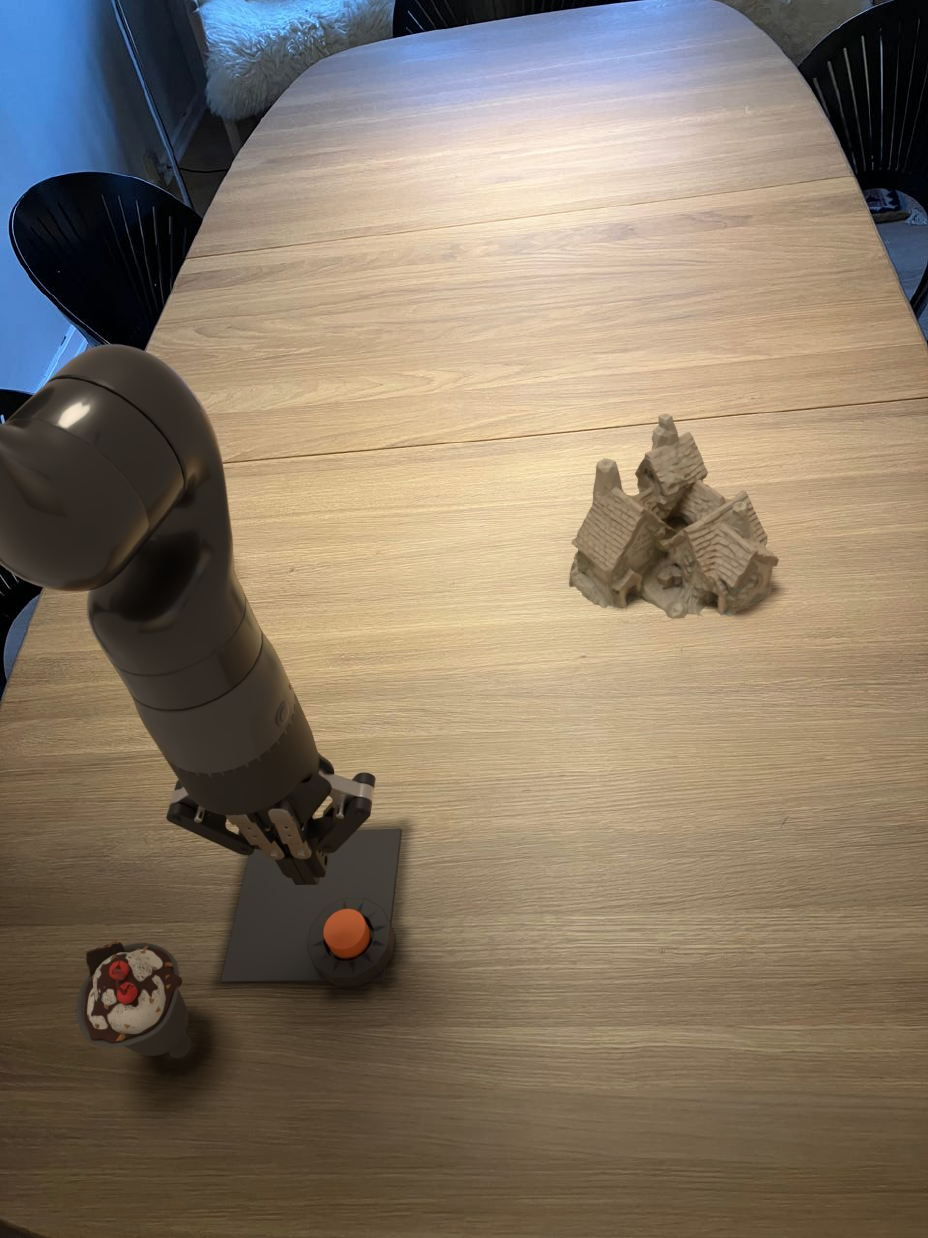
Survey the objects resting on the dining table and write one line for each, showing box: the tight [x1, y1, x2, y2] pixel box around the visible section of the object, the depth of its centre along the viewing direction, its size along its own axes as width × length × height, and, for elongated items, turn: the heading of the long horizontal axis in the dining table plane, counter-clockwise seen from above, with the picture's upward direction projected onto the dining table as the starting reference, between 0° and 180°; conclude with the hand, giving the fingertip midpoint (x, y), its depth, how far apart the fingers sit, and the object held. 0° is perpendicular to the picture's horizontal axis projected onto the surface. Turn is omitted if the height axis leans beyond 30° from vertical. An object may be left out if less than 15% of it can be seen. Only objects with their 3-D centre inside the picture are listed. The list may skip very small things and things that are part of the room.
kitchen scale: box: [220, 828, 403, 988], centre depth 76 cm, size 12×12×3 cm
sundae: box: [75, 940, 192, 1059], centre depth 66 cm, size 7×7×15 cm
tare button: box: [323, 909, 370, 959], centre depth 72 cm, size 3×3×2 cm
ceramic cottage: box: [568, 413, 780, 620], centre depth 89 cm, size 16×16×15 cm
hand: (309, 872), depth 67 cm, fingers closed
